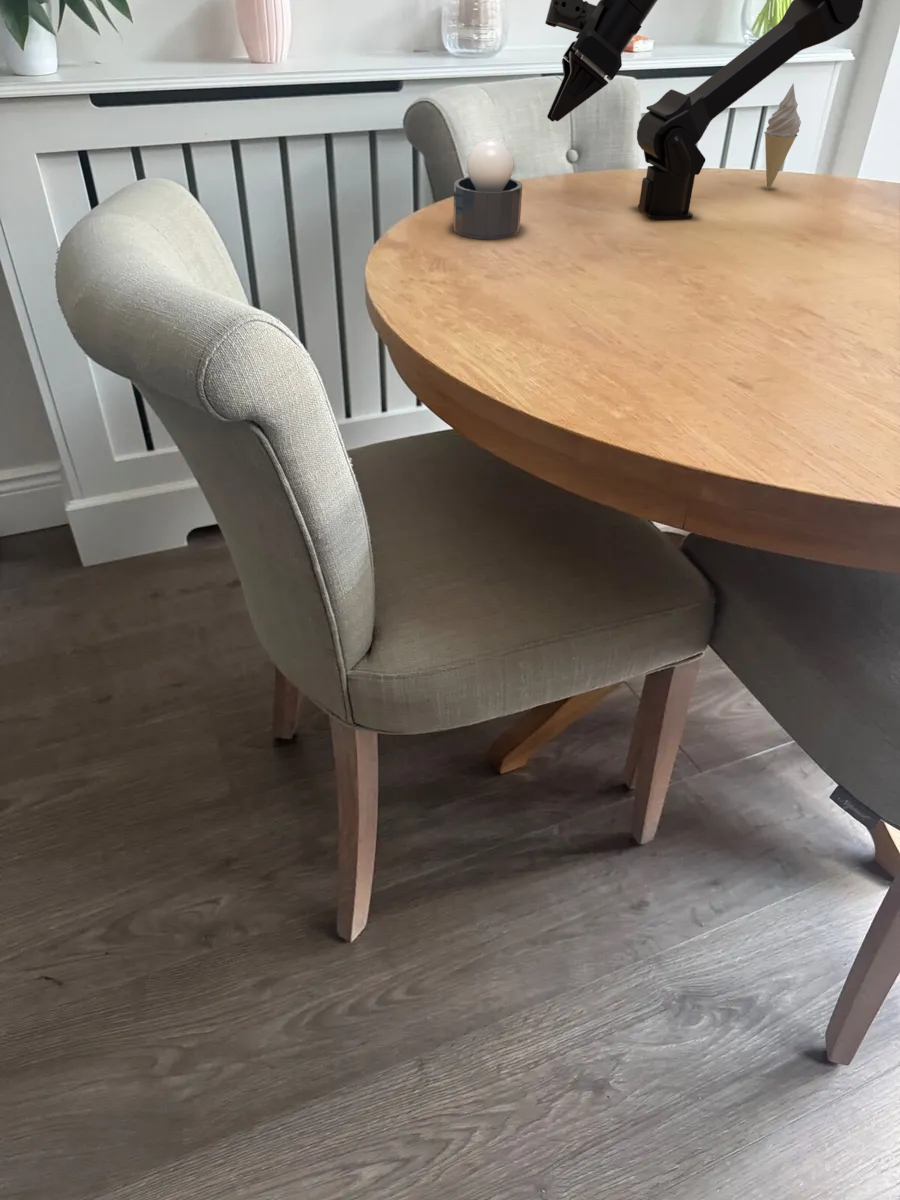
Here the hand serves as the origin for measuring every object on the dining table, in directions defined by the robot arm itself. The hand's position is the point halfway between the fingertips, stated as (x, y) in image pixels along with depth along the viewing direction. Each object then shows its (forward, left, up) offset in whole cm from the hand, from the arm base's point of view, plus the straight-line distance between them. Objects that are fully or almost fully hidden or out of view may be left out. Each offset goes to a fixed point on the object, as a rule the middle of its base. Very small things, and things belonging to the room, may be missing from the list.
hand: (551, 119), depth 118 cm
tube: (+9, +4, -13) cm, 16 cm away
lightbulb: (+9, +4, -13) cm, 16 cm away
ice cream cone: (-41, -13, -13) cm, 45 cm away
